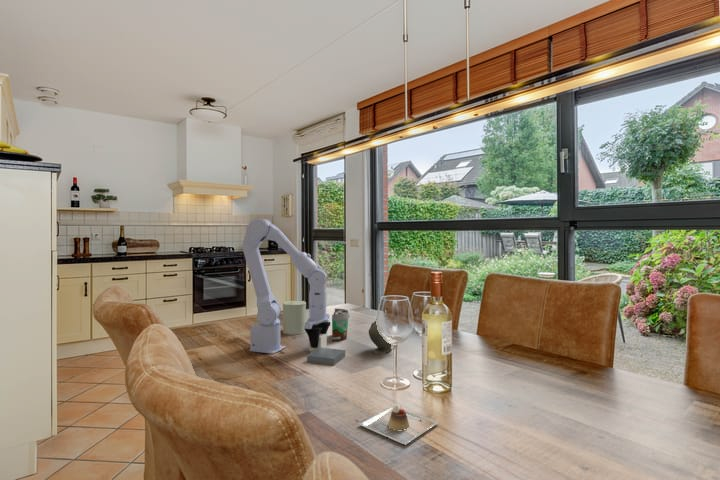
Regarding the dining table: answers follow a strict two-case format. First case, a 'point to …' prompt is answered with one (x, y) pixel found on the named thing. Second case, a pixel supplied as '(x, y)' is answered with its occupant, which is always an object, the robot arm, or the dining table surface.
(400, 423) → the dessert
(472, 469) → the dining table surface
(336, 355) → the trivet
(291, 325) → the can
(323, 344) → the block
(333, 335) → the food container
